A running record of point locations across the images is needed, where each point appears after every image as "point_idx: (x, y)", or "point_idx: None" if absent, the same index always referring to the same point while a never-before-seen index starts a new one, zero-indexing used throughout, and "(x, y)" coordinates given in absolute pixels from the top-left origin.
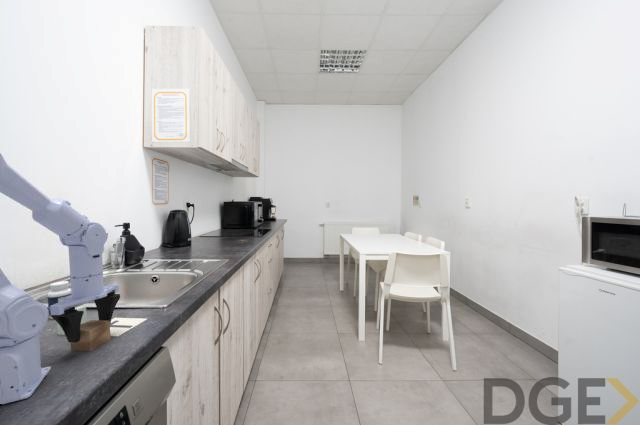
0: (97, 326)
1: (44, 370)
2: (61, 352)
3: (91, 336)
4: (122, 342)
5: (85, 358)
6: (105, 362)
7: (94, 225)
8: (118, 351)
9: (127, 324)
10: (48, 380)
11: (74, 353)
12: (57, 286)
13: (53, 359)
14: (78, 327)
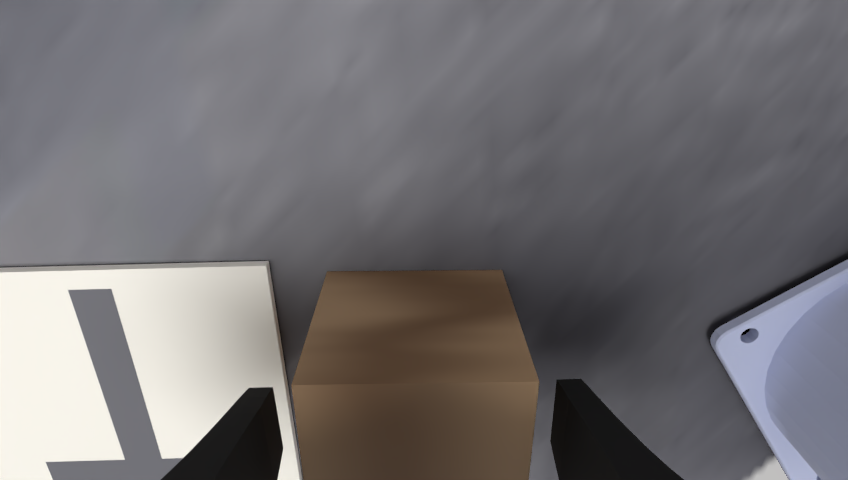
0: (439, 387)
1: (764, 332)
2: None
3: (509, 338)
4: (332, 151)
5: (583, 233)
6: (650, 11)
7: None
8: (477, 51)
9: (70, 357)
10: (837, 228)
11: None
12: None
13: None
14: (634, 467)
